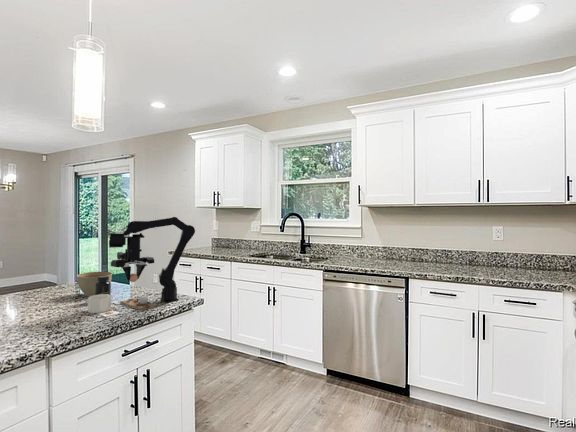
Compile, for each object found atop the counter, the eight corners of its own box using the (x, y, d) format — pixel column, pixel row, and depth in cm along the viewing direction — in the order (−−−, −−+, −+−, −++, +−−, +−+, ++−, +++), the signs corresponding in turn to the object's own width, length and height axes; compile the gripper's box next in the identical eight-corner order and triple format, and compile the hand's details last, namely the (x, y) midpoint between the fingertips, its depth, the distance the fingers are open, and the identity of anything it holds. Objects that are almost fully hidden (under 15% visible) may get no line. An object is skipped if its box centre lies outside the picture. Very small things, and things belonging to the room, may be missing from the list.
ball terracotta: (134, 280, 160) (135, 272, 160) (139, 281, 157) (139, 273, 157) (126, 282, 157) (126, 273, 157) (131, 283, 154) (131, 274, 154)
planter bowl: (68, 297, 167) (68, 276, 166) (93, 290, 182) (94, 270, 182) (95, 299, 163) (95, 277, 163) (118, 292, 179) (119, 272, 179)
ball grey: (145, 302, 154) (145, 294, 154) (149, 304, 152) (149, 295, 152) (136, 304, 151) (136, 295, 151) (141, 306, 149) (141, 297, 149)
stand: (136, 300, 163) (136, 296, 163) (156, 306, 152) (156, 303, 152) (120, 303, 157) (120, 300, 157) (140, 310, 146) (140, 306, 146)
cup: (105, 306, 151) (105, 293, 151) (113, 309, 146) (114, 296, 146) (85, 310, 144) (85, 296, 144) (93, 314, 139) (93, 300, 139)
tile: (113, 311, 144) (113, 309, 144) (119, 313, 141) (119, 312, 141) (98, 314, 139) (98, 313, 139) (105, 317, 136) (105, 315, 136)
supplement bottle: (103, 303, 157) (103, 278, 157) (91, 302, 158) (91, 277, 158) (113, 299, 163) (114, 275, 163) (102, 298, 165) (102, 274, 165)
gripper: (143, 244, 169) (142, 275, 169) (105, 247, 154) (104, 280, 154) (155, 246, 163) (154, 277, 163) (117, 249, 148) (116, 283, 148)
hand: (133, 279), depth 157 cm, fingers closed on ball terracotta, 4 cm apart
